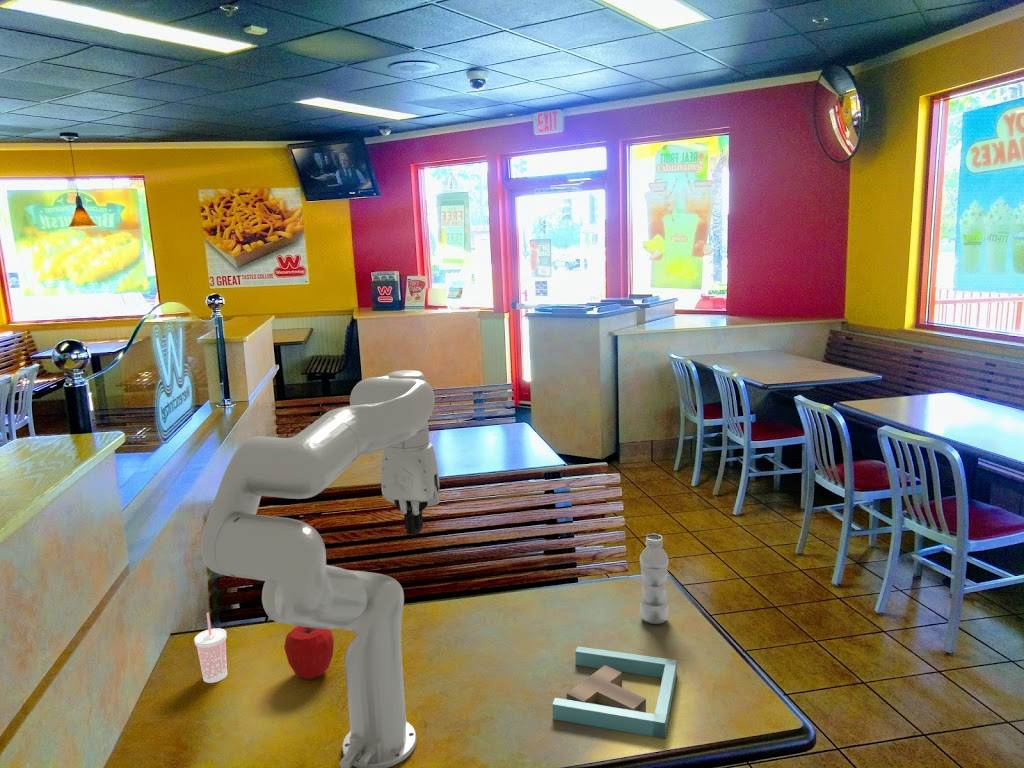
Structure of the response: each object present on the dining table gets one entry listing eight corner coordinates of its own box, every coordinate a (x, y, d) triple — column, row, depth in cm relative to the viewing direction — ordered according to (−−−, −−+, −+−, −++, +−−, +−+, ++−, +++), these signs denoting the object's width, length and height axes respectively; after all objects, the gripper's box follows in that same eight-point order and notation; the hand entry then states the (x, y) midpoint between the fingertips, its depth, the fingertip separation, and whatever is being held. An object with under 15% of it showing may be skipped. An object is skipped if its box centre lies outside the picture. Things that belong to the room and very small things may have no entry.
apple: (346, 671, 150) (342, 622, 148) (306, 694, 143) (301, 642, 141) (317, 655, 157) (313, 608, 154) (277, 676, 149) (272, 627, 147)
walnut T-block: (620, 735, 128) (620, 720, 128) (566, 707, 136) (566, 693, 136) (657, 703, 137) (657, 688, 136) (605, 678, 145) (604, 665, 144)
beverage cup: (218, 664, 154) (210, 603, 152) (237, 672, 151) (230, 609, 148) (192, 679, 149) (184, 616, 146) (212, 688, 146) (204, 623, 143)
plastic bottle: (647, 630, 162) (647, 544, 158) (634, 615, 169) (634, 533, 165) (674, 625, 164) (674, 540, 160) (660, 611, 170) (660, 529, 167)
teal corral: (664, 738, 127) (664, 723, 126) (552, 719, 133) (552, 704, 132) (676, 674, 145) (676, 660, 145) (577, 659, 152) (577, 646, 151)
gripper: (362, 441, 134) (369, 536, 137) (437, 445, 129) (442, 544, 132) (381, 431, 141) (387, 521, 144) (453, 434, 136) (458, 528, 139)
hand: (414, 532), depth 138 cm, fingers closed
